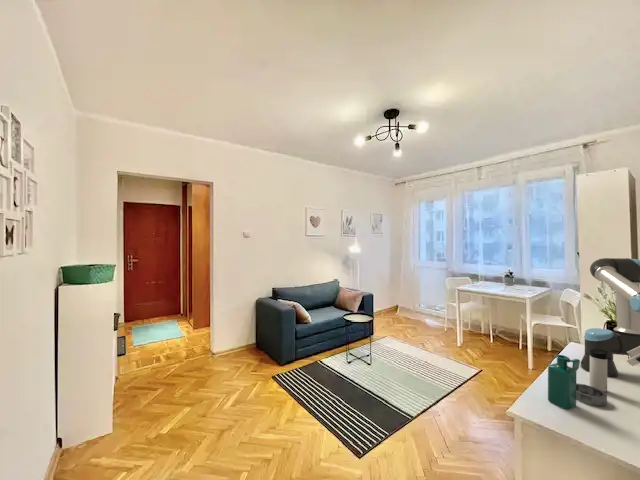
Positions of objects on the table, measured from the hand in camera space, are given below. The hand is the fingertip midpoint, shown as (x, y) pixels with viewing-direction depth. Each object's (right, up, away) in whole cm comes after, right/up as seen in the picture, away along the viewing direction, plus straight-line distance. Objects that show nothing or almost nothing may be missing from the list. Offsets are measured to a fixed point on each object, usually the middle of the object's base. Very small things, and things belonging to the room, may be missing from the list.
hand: (629, 358), depth 131 cm
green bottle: (-35, -19, -4) cm, 40 cm away
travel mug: (-7, -19, +8) cm, 22 cm away
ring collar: (-19, -19, 0) cm, 27 cm away
